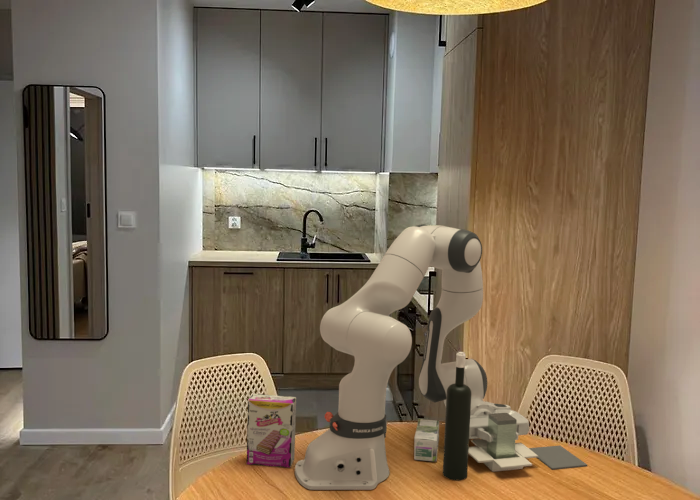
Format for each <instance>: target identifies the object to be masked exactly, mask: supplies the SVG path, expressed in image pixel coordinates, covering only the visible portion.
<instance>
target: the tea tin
mask: <svg viewBox="0 0 700 500" xmlns="http://www.w3.org/2000/svg"><path fill="white" fill-rule="evenodd" d="M516 422H517V420H516V419H515V418H513V417H512V416H511V415H509V414H508V413H494V414H489V417H488V433H493V434H494V435H495V441H494V442H488V441H487V453H488V454H489V455H490V456H491V457H492V458H493V459H503V458H514V455H515V443H516V440H515V439H516Z"/></svg>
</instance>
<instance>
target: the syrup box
mask: <svg viewBox="0 0 700 500" xmlns="http://www.w3.org/2000/svg"><path fill="white" fill-rule="evenodd" d="M417 419H418V420H417V424H416V430H415V433H414V438H413V439H414V441H413V443H414V447H413V448H414V450H413V454H414V455H413V456H414V457H413V458H414V461H426V462H437V459H438V451H439V443H440V420H438V419H437V420H436V419H423V418H417Z"/></svg>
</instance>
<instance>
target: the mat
mask: <svg viewBox="0 0 700 500" xmlns="http://www.w3.org/2000/svg"><path fill="white" fill-rule="evenodd" d="M528 448H529V449H530V450H531V451H533V452H534V453H535V454H537V455H538V457H536V459H537V460H539V461H541V462H542V463H543V464H544V465H545V466H546V467H548V468H549V469H550V470H552V471H553V470H563V469H572V468H573V469H574V468H583V467H588V464H587V463H586V462H584V461H583V460H581V458H579V457H578V456H576V455H574V454H573V453H571V452H570V451H569V450H567V449H566V448H564V447H563V446H562V445H549V446H540V447H539V446H538V447H528Z"/></svg>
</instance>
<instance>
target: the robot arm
mask: <svg viewBox="0 0 700 500" xmlns="http://www.w3.org/2000/svg"><path fill="white" fill-rule="evenodd" d="M482 256H483V245H482V241H481V239H480V238H479V236H478V235H477V234H476V233H475V232H473V231H470V230H467V229H462V228H461V229H459V228H455V227H451V226H450V227H449V226H447V225H439V224H438V225H436V224H435V225H433V224H431V225H430V224H429V225H428V224H417V225H413V226H409V227H406V228H405V229H403V230H402V231H401V233H400V234H398V235H397V237H396V238H395V239H394V240H393V242H392V243H391V244H390V246H389V247H388V249H387V250H386V251H385V253H384V255H383V256H382V259H381V260H380V261H379V263H378V265H377V266H376V268H375V269H374V271H373V273H372V274H371V276H370V277H369V278H368V280H367V281H366V283H365V284H363V286H361V287H360V289H359V290H358V291H356V292H355V293H354V294H353V295H352V296H351V297H350V298H348V299H347V300H345V301H344V302H342V303H340V304H339V305H337V306H334V307H332V308H330V309H328V310H327V311H326V312H325V313H324V314H323V316H322V318H321V320H320V325H319V332H320V336H321V338H322V340H323V341H324V343H326V344H328V345H329V346H330V347H331V348H333V349H335V351H338V352H341V353H344V354H348V355H350V356H352V357H354V363H353V364H354V365H353V367H352V370H351V372H349V373H348V374H346V375H344V376H343V377H342V378H341V380H340V382H339V384H338V406H337V407H338V411H337V412H336V413H335V414H333V413H332V412H330V411H326V413H325V414H324V419H325V421H326V422H328V423H329V429H327V430H326V431H324V432H323V433H321V434H320V435H319V436H318V437H316V438H315V439H313V440H312V441H311V442H310V443H309V444H308V445H307V447H306V451H305V456H304V458H303V459H299V460H298V461H297V462H296V464H295V466H294V467H295V468H294V475H295V478H296V480H297V482H298V483H299V484H300V485H301V486H302V487H303V488H305V489H307V490H310V491H313V490H315V491H319V490H320V491H325V490H326V491H327V490H328V491H329V490H330V491H332V490H333V491H337V490H338V491H340V490H341V491H343V490H345V491H346V490H347V491H348V490H349V491H351V490H352V491H354V490H355V491H356V490H357V491H358V490H359V491H360V490H365V491H368V490H374V489H375V488H376V487H377V486H378V484H381V482H383V481H385V480H386V479H388V477H389V476H390V468H389V465H388V459H387V454H386V453H387V451H386V442H385V441H386V440H385V439H386V436H387V429H388V427H387V426H388V425H387V424H388V423H387V420H388V419H387V414H386V399H387V387H388V383H389V379H390V377H391V374H392V373H393V371H394V369H395V368H396V367H397V366H398V365H400V364H401V363H403V362H404V361H405V360H406V358H407V357H408V356H409V354H410V353H411V349H412V344H413V337H412V332H411V331H410V328H409V327H408V326H407V325H406V324H404V323H403V322H401V321H399V320H398V319H395V318H394V317H392V316H389V315H391V314H392V313H394V312H396V311H399V310H401V309H404V308H405V307H407V306H408V305H409V304H410V302H411V301H412V299H413V297H414V295H416V294H415V293H416V292H417V290H418V288H419V286H420V285H421V283H422V281H423V279H424V278H425V275H426V274H427V271H428V270H429V268H430V267H431V268H435V269H437V270H441V294H440V298H439V301H438V303H437V304H436V307H434V308H433V309H432V310H431V312H430V314H429V317H428V322H427V323H428V324H427V327H426V336H425V344H424V350H423V357H422V363H421V367H420V372H419V375H418V388H419V391H420V393H421V395H422V396H423V397H424V398H426V399H427V400H428V401H430V402H433V403H439V402H443V403H444V405H445V407H446V396H447V388H448V387H449V386H450V385H451V384H454V383H455V379H456V360H454V361H451V362H443V363H442V358H443V352H444V343H445V340H446V338H447V336H448V335H449V333H450V332H451V331H452V330H454V329H455V328H457V327H458V326H460V325H462V324H464V323H465V322H467V321H469V320H471V319H472V318H474V317H475V316H476V315H477V314H478V313H479V311H481V309H482V306H483V302H484V301H483V300H484V282H483V281H484V278H483V272H482V271H483V270H482V264H481V258H482ZM464 384H465V385H467V386H468V387H469V388H470V389H471V412H470V431H469V440H477V439H484V440H487V441H488V442H494V441H495V435H494V434H493V433H488V417H489V414H494V413H508V414H509V415H511V416H512V417H513V418H515V419H516V420H517V422H516V439H515V441H518V440H519V436H523V435H524V436H526V435H528V433H529V429H530V422H529V420H528V418H526V417H525V415H522V414H521V413H520V412H518V411H516V410H513V409H512V407H511V406H510V405H508V404H503V403H493V402H490V401H484V399H485V397H486V394H487V390H488V377H487V372H486V370H485V368H484V367H483V366H482V365H481V364H480V363H479V362H478V361H477V360H475V359H474V358H467V359H466V358H465V368H464Z"/></svg>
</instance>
